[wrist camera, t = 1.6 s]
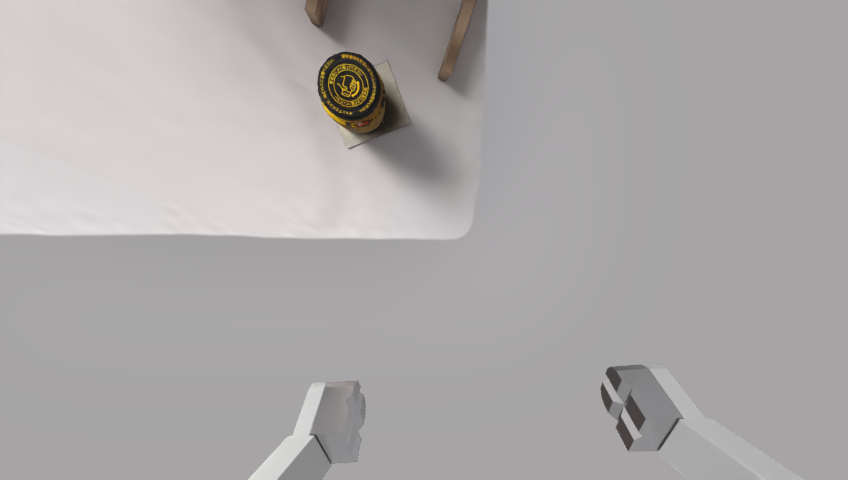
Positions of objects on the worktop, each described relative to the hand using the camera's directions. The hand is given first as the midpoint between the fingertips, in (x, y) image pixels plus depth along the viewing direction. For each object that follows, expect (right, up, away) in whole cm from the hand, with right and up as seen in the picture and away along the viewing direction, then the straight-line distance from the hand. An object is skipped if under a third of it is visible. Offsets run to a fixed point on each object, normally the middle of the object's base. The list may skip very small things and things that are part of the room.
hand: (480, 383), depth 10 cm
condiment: (-9, +21, +26) cm, 35 cm away
